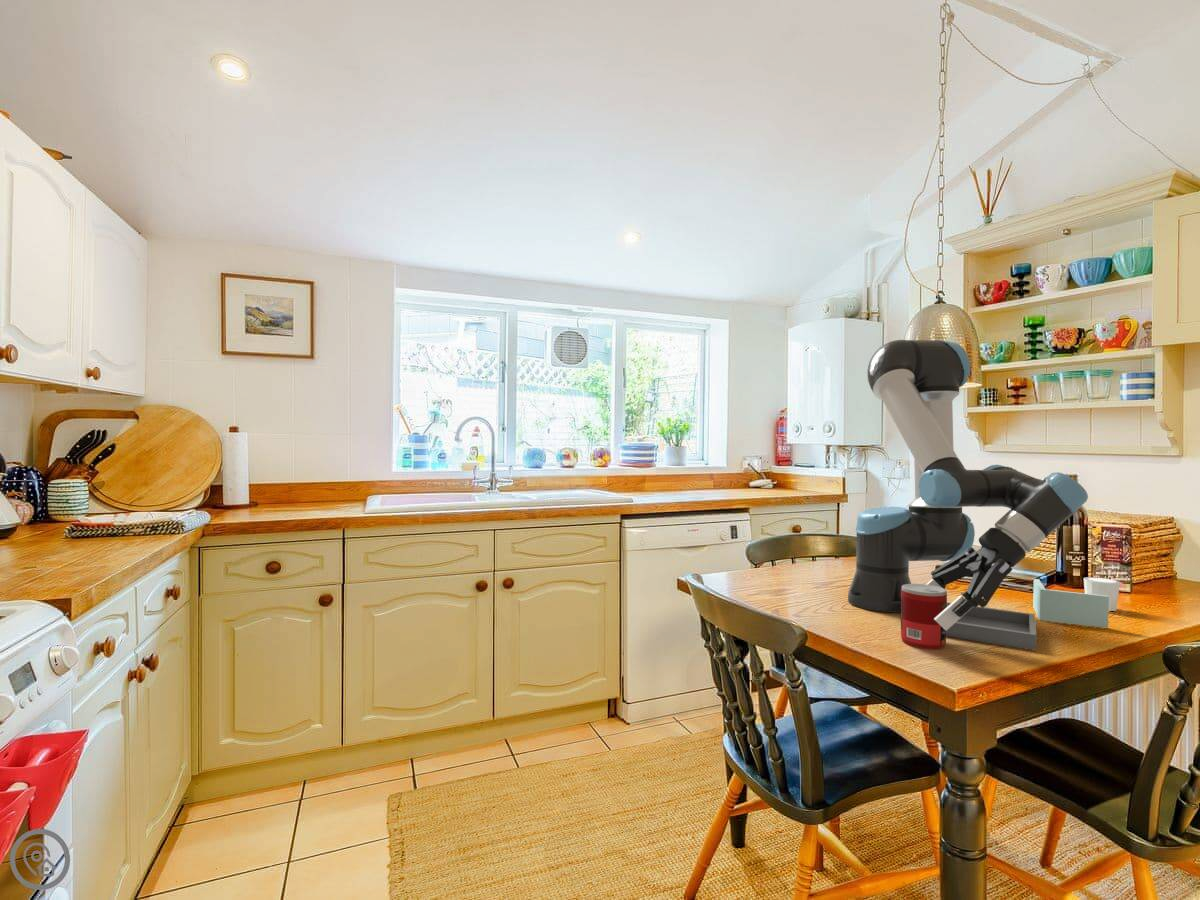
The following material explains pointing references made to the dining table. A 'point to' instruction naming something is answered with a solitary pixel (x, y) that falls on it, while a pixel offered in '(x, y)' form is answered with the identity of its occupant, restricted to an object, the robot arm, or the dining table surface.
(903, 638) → the canned food
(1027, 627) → the gray square tray
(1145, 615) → the dining table surface
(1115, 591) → the white cup
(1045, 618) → the l-shaped corner panel
